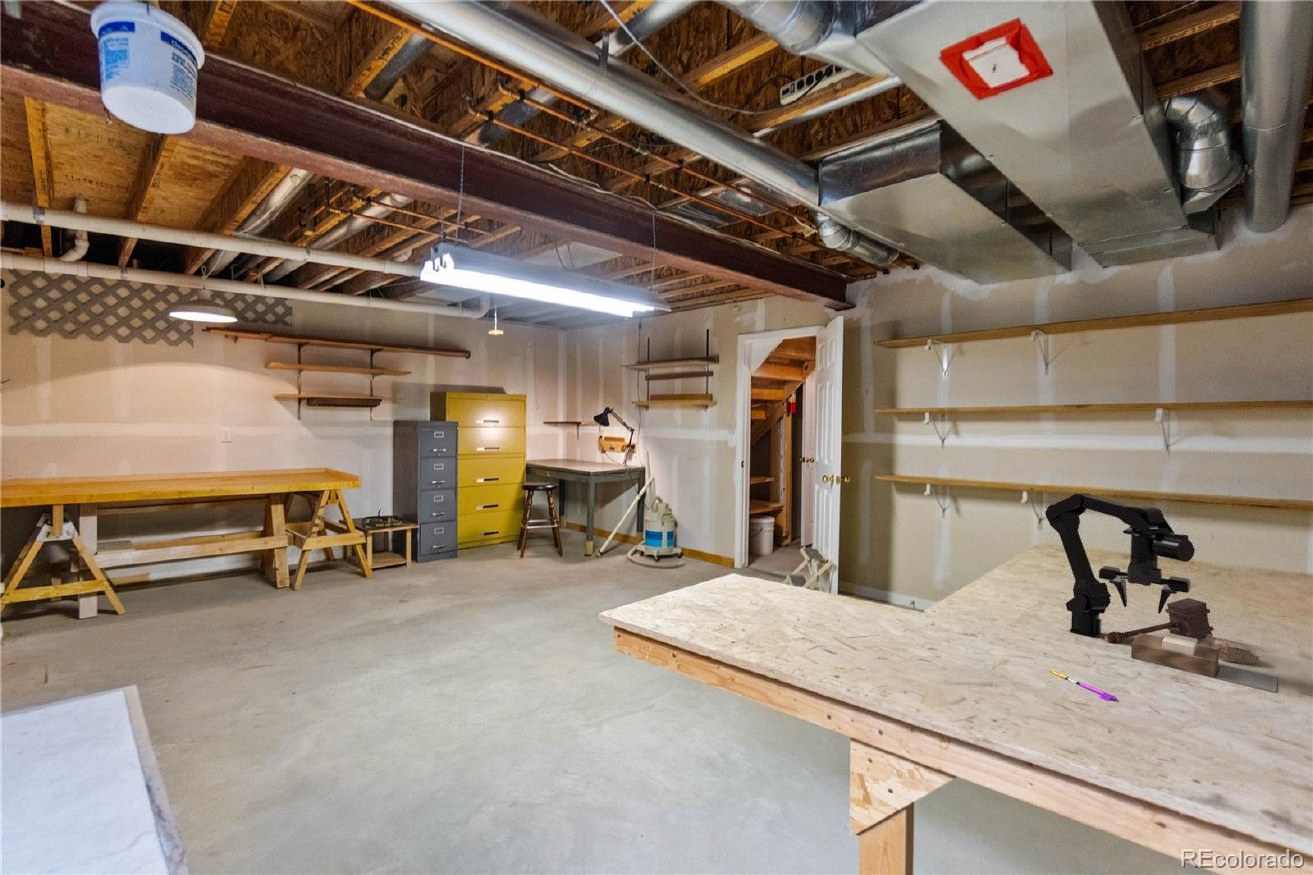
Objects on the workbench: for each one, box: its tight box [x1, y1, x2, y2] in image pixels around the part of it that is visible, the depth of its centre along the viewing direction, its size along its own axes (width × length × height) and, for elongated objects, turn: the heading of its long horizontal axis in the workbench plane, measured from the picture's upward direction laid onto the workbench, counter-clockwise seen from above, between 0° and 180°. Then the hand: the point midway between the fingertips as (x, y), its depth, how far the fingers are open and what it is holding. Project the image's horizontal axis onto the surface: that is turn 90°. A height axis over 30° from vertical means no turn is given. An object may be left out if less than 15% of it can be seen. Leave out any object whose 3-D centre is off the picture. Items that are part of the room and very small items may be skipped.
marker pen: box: [1048, 670, 1118, 702], centre depth 137 cm, size 3×1×16 cm
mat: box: [1216, 664, 1278, 694], centre depth 143 cm, size 10×12×1 cm
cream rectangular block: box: [1162, 632, 1199, 655], centre depth 152 cm, size 6×9×2 cm, turn 132°
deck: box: [1130, 633, 1220, 679], centre depth 153 cm, size 16×12×4 cm
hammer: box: [1104, 597, 1214, 643], centre depth 169 cm, size 7×33×10 cm, turn 99°
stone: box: [1205, 634, 1260, 665], centre depth 156 cm, size 9×11×5 cm
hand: (1142, 610), depth 158 cm, fingers open, 7 cm apart
